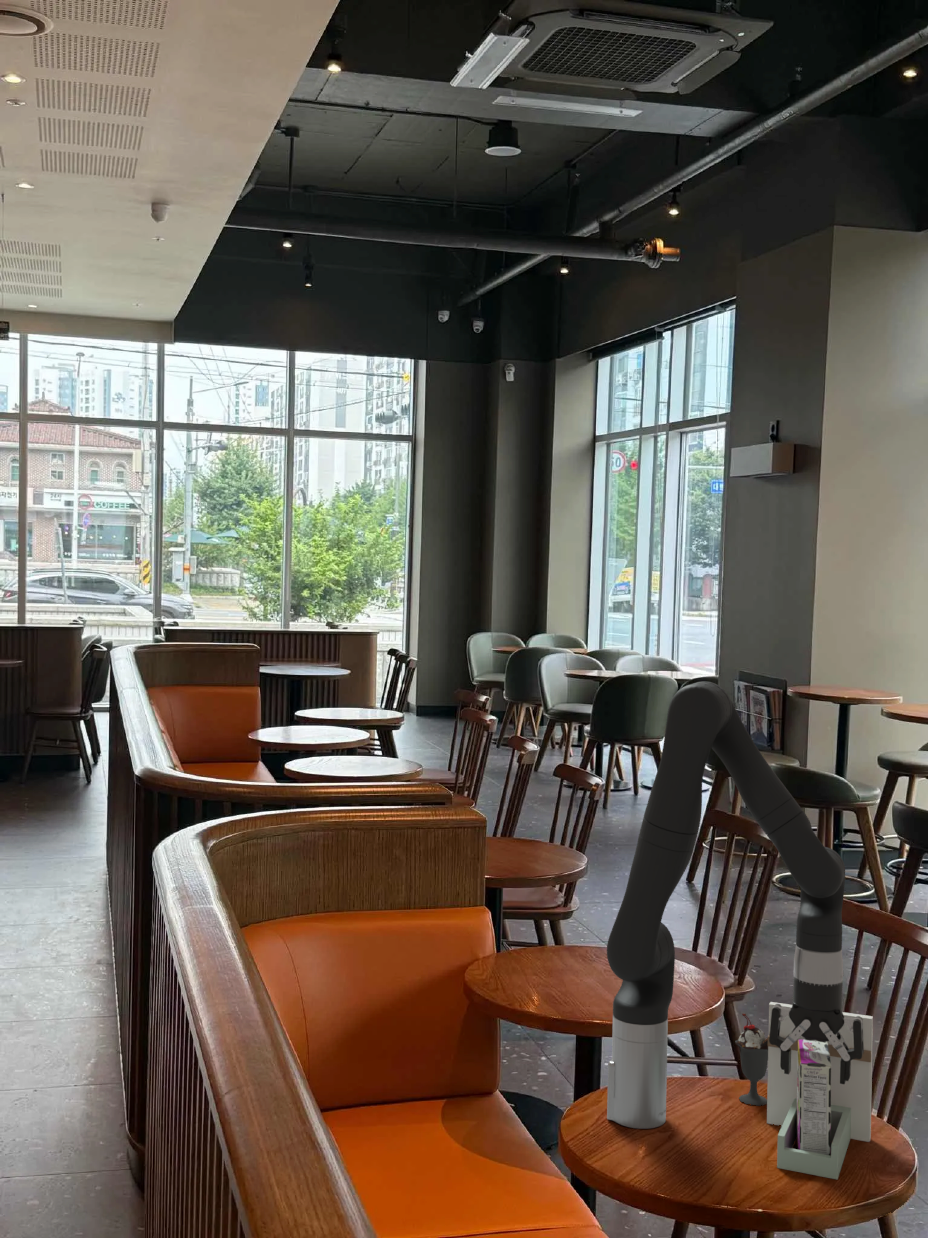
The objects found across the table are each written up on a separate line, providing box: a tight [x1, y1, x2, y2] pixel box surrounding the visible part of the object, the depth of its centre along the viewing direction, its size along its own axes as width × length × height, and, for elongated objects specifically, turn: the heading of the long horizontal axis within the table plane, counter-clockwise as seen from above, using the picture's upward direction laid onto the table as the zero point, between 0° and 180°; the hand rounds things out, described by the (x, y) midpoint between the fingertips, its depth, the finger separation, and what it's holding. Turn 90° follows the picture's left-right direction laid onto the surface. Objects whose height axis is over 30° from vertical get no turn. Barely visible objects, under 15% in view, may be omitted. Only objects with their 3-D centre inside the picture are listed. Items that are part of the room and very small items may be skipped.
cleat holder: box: [766, 1001, 874, 1181], centre depth 195 cm, size 16×18×20 cm
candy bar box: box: [796, 1039, 832, 1156], centre depth 193 cm, size 11×5×16 cm, turn 166°
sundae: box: [734, 1013, 768, 1107], centre depth 215 cm, size 7×7×15 cm
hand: (815, 1077), depth 193 cm, fingers open, 8 cm apart
